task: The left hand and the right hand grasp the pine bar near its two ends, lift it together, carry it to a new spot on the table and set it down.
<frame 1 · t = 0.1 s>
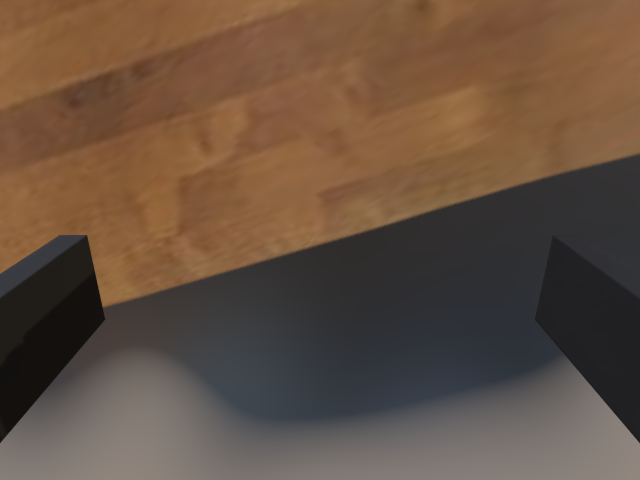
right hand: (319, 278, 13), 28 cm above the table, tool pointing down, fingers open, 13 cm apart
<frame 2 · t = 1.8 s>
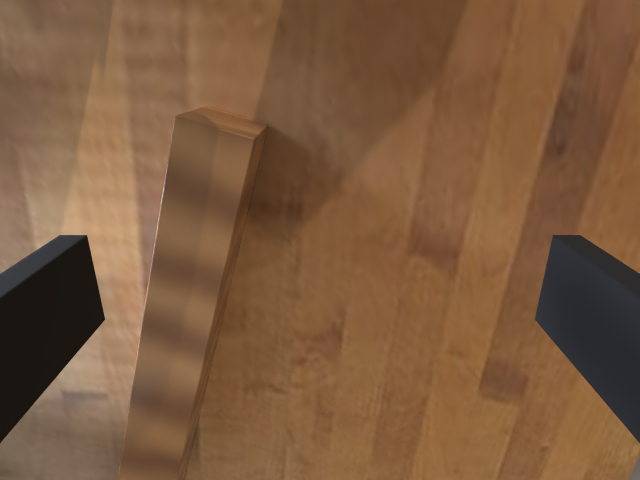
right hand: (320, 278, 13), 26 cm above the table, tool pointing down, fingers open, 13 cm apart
bar: (170, 433, 48), on the table
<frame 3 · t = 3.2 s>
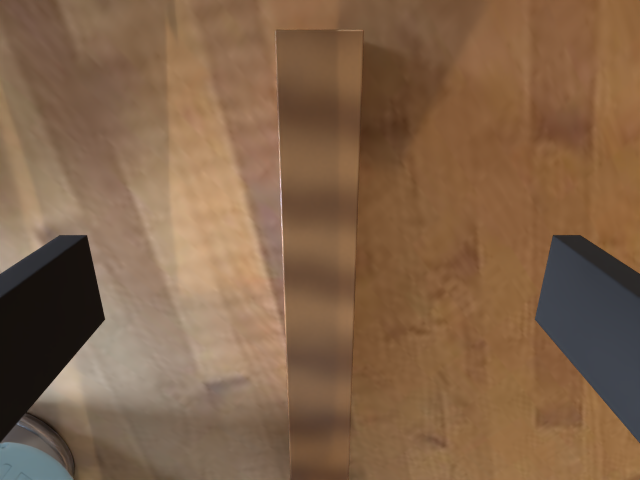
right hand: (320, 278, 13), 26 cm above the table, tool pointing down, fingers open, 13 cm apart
bar: (319, 403, 47), on the table, touching left hand
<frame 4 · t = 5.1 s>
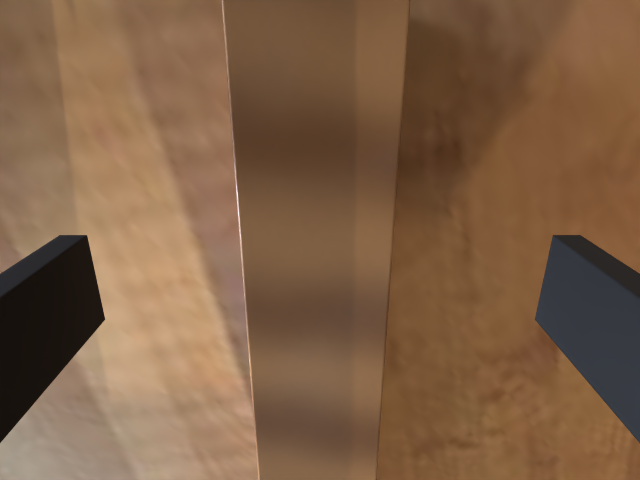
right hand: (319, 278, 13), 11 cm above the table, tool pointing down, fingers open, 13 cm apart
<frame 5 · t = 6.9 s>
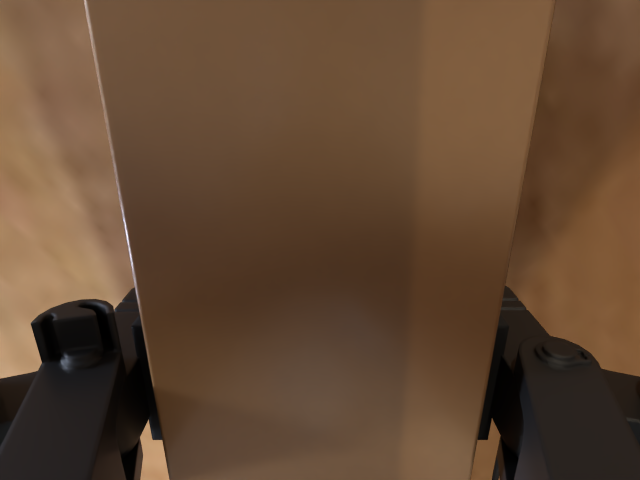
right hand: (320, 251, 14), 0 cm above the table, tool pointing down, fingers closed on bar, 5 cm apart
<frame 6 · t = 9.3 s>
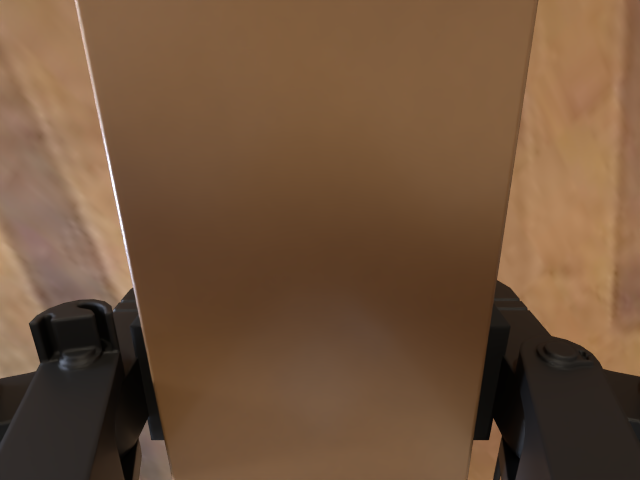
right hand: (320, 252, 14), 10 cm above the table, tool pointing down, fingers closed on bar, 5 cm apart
when the left hand's fingers open (2 cm above the table, at t = 11.7 s): bar stays where it is, on the table.
when the right hand's fingers open (2 cm above the table, at t = 11.7 s): bar stays where it is, on the table.
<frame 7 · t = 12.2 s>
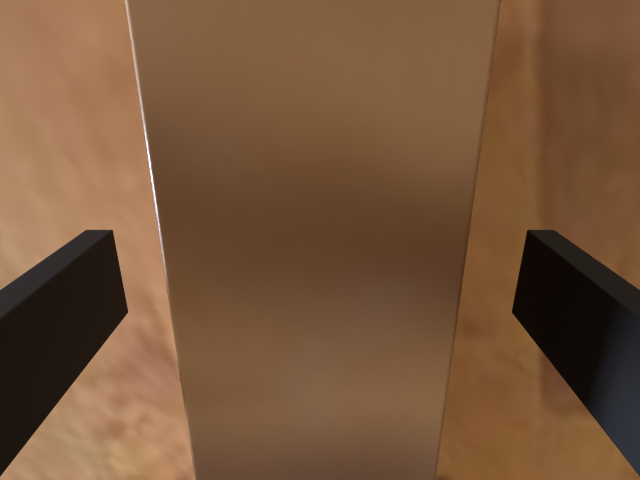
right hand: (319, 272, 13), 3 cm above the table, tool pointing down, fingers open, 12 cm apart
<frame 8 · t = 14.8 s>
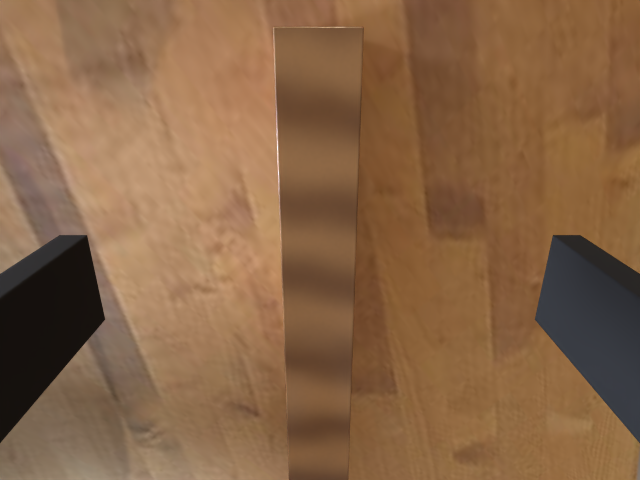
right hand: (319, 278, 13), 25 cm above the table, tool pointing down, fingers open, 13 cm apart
bar: (318, 406, 46), on the table
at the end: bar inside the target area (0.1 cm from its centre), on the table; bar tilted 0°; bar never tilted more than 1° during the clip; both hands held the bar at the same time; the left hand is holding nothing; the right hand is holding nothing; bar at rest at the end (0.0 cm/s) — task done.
